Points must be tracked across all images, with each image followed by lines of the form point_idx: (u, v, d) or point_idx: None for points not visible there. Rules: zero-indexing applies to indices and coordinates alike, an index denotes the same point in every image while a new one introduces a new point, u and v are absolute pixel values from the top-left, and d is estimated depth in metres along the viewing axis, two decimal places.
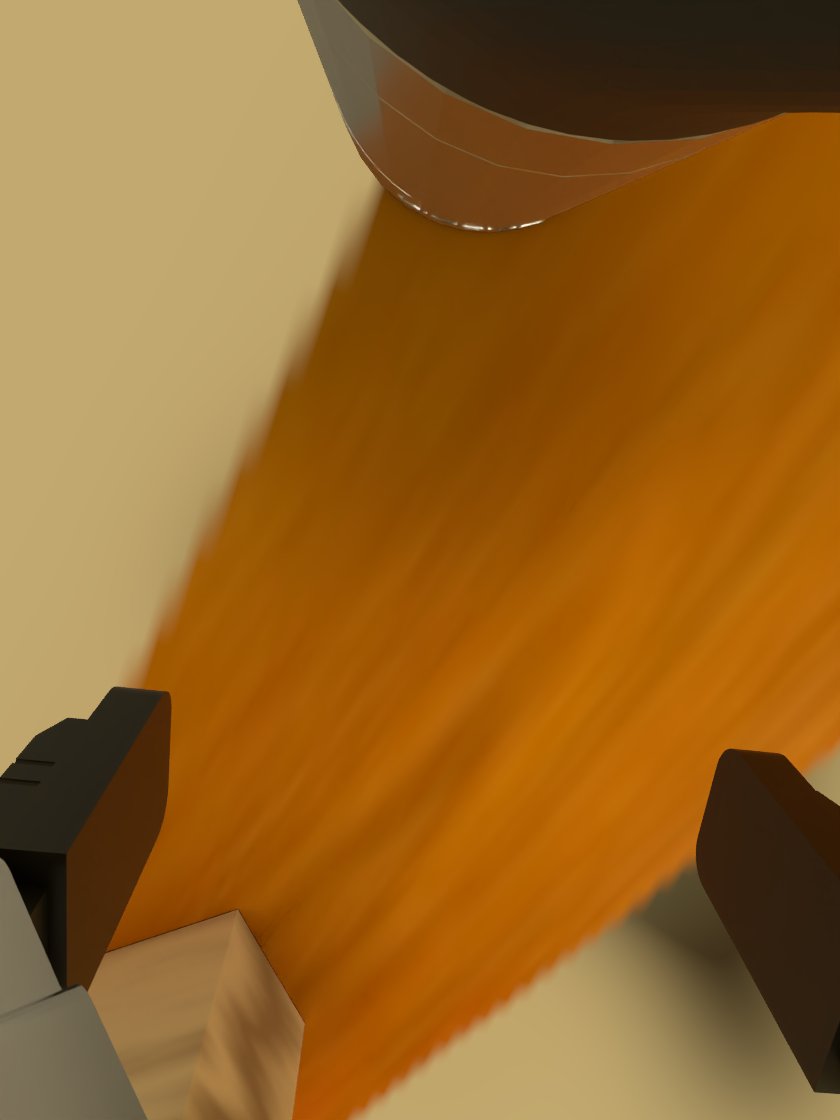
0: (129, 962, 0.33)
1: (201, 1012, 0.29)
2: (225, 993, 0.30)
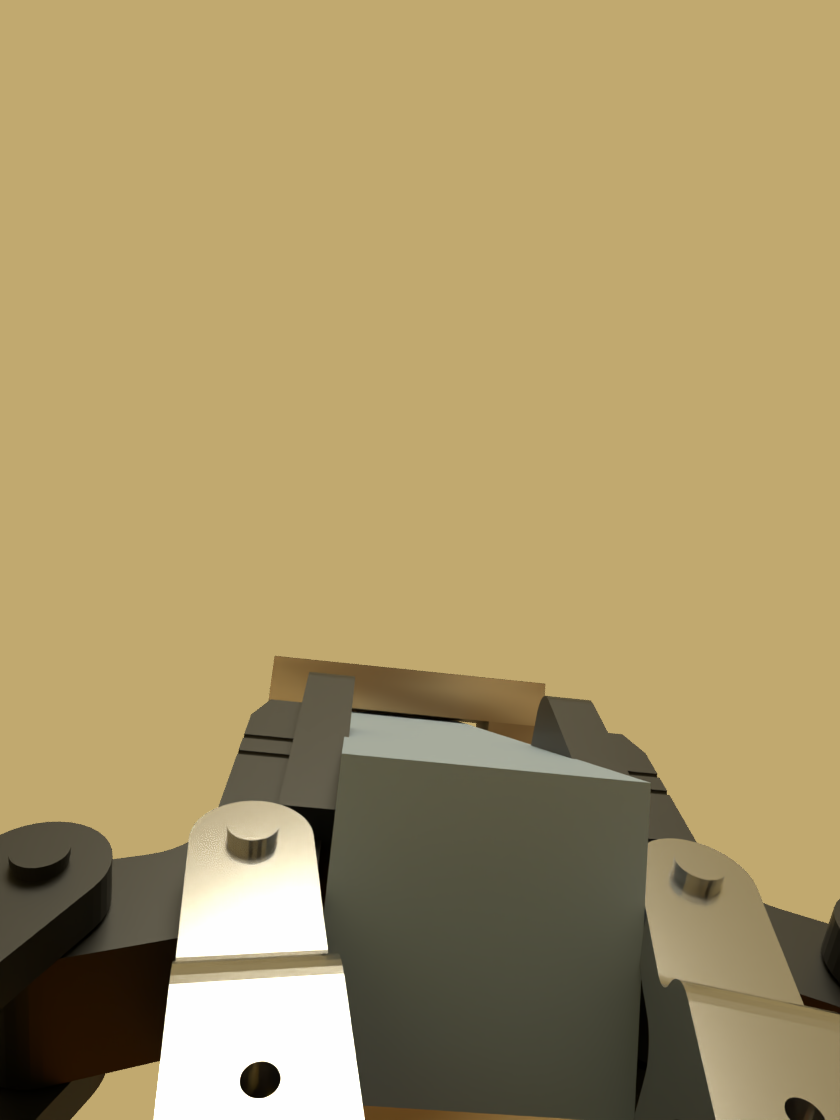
0: None
1: None
2: None
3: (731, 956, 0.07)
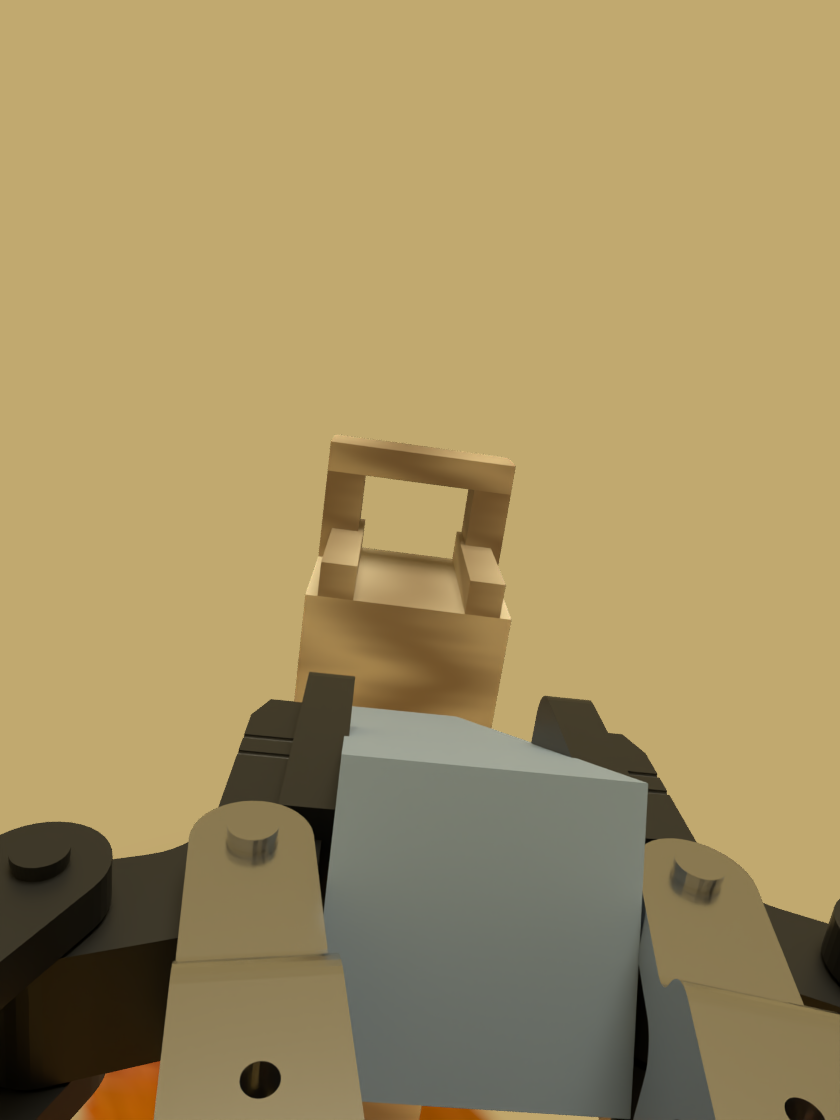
0: None
1: None
2: None
3: (730, 956, 0.07)
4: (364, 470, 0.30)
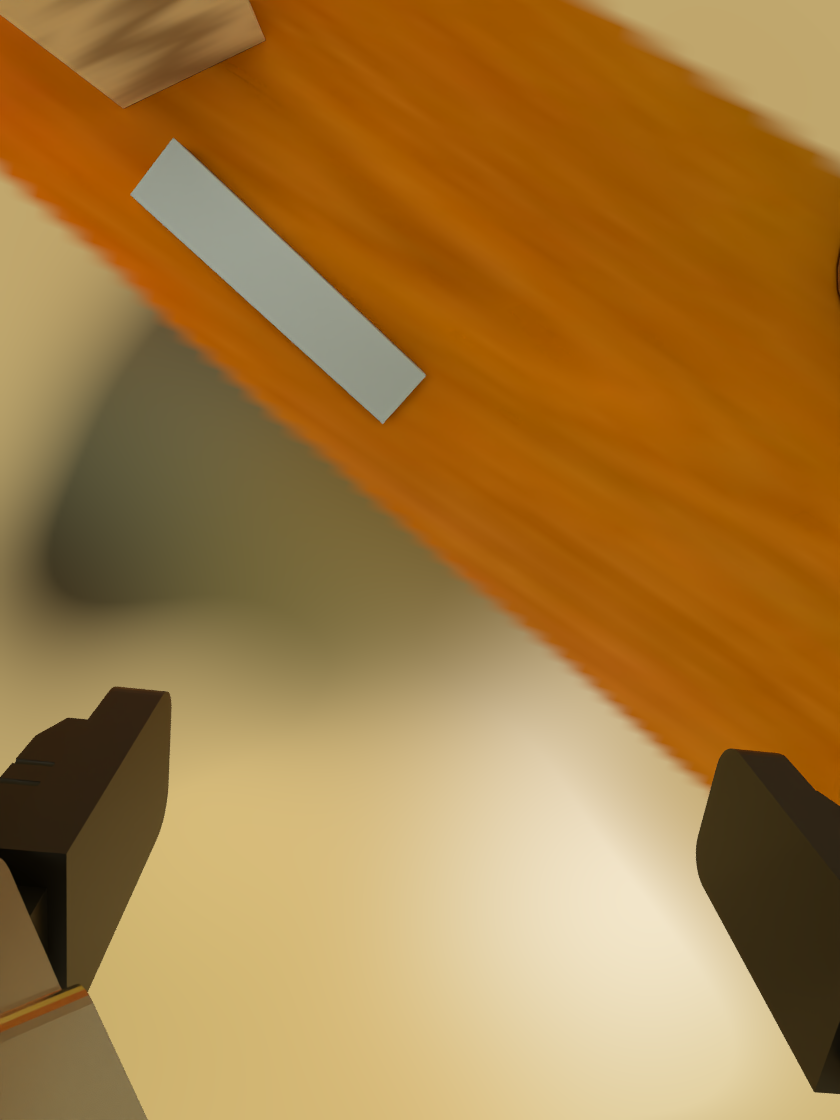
0: None
1: None
2: (236, 16, 0.31)
3: None
4: None
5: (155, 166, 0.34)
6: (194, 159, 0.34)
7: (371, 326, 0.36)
